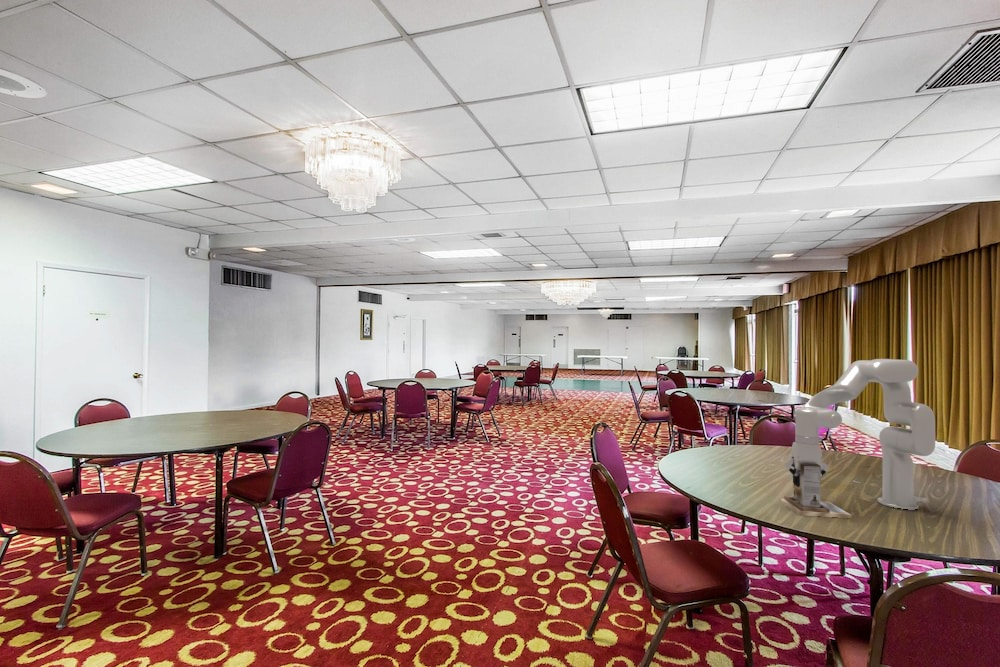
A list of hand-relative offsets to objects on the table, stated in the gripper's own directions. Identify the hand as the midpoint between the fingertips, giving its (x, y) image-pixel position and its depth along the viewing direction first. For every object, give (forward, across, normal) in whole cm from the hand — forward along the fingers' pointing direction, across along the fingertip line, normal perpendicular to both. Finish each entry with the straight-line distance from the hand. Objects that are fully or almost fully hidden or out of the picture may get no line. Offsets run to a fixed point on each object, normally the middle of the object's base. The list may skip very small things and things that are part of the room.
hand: (806, 485), depth 178 cm
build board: (+9, -3, 0) cm, 10 cm away
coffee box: (+7, 0, 0) cm, 7 cm away
